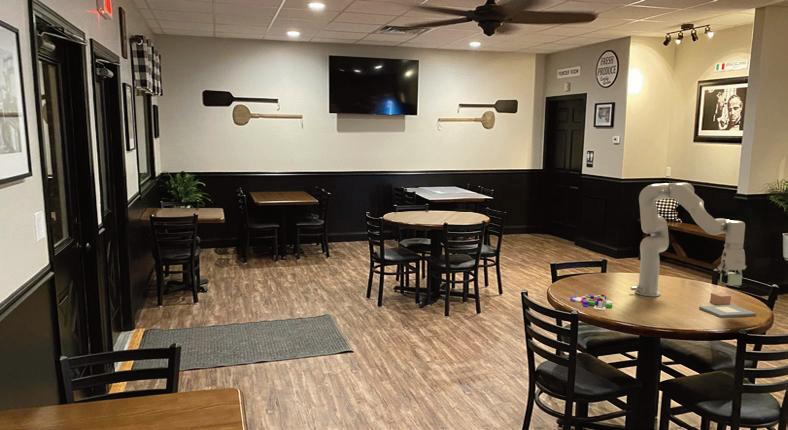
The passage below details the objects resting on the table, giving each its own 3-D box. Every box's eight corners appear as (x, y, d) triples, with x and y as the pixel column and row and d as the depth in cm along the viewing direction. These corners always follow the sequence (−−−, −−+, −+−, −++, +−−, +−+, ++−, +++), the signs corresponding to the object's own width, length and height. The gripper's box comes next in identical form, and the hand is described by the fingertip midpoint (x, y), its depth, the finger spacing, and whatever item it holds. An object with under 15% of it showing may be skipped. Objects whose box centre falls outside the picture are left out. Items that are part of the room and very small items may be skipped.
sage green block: (729, 285, 273) (730, 275, 272) (719, 282, 279) (720, 272, 278) (741, 285, 274) (742, 275, 273) (731, 281, 280) (732, 271, 279)
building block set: (573, 294, 307) (574, 286, 306) (614, 300, 298) (615, 291, 298) (567, 306, 284) (567, 298, 283) (611, 312, 276) (611, 303, 275)
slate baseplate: (720, 317, 270) (721, 315, 269) (699, 308, 283) (699, 306, 283) (756, 315, 274) (756, 313, 274) (733, 307, 287) (733, 304, 287)
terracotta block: (719, 305, 290) (720, 296, 289) (710, 302, 296) (710, 293, 295) (730, 305, 291) (731, 295, 291) (720, 301, 297) (721, 292, 297)
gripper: (724, 248, 268) (721, 285, 271) (755, 247, 272) (751, 283, 274) (712, 245, 276) (709, 281, 278) (742, 244, 279) (739, 280, 282)
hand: (730, 282), depth 276 cm, fingers closed on sage green block, 6 cm apart
